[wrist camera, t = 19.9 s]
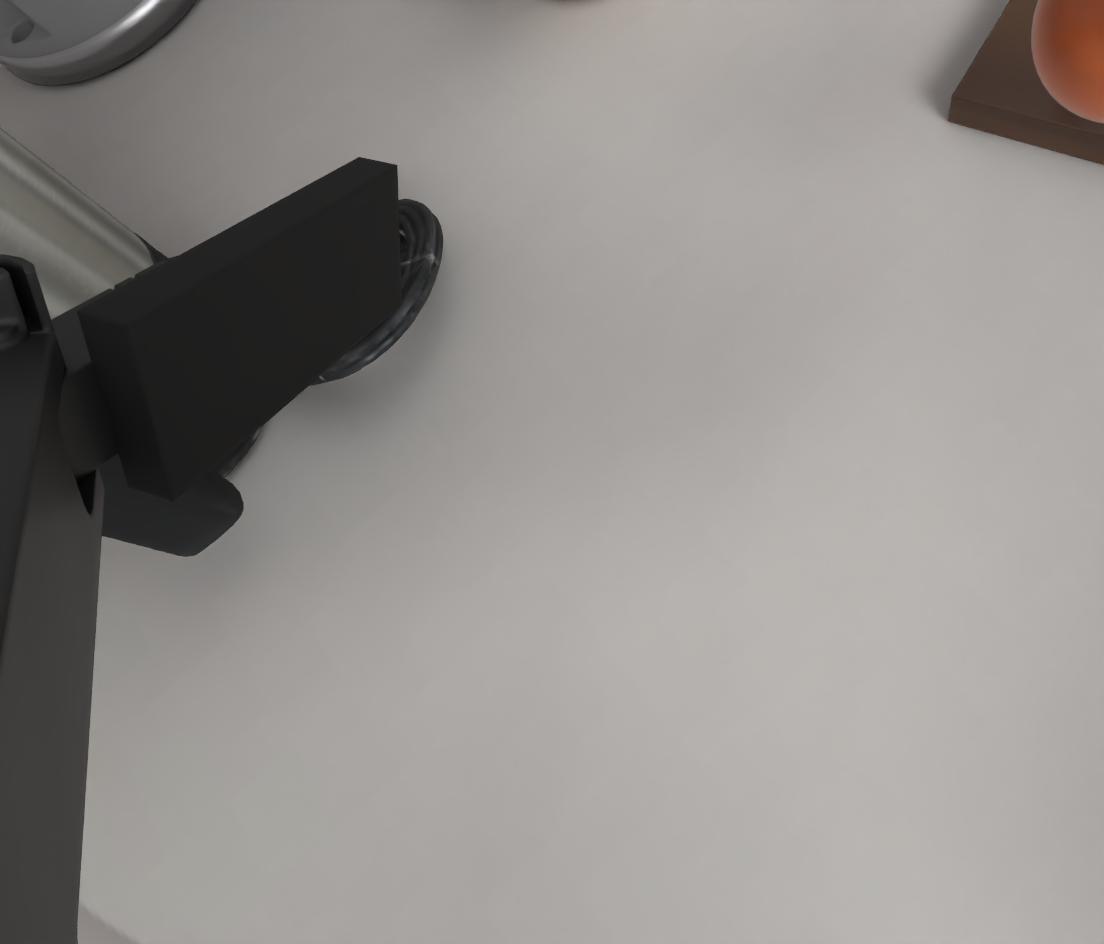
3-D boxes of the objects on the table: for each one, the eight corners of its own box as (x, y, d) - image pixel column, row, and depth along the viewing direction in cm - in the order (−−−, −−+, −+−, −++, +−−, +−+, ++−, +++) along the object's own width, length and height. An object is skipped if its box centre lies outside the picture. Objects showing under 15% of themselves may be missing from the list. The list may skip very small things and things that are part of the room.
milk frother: (48, 441, 36) (-410, 246, 23) (269, 147, 38) (-38, -193, 25) (263, 624, 30) (-188, 504, 17) (514, 266, 32) (284, -99, 19)
